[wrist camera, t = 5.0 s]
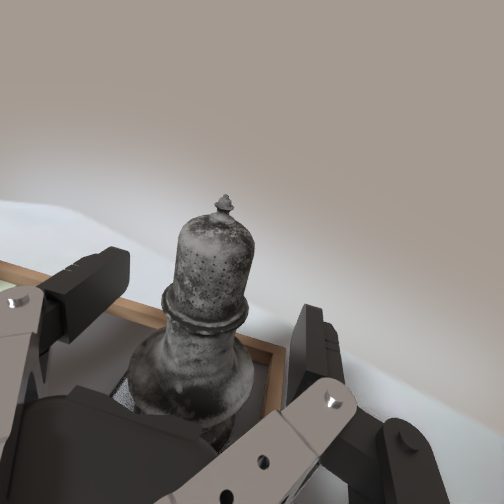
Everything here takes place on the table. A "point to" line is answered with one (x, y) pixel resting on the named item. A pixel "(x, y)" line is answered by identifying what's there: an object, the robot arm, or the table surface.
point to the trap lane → (126, 345)
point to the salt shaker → (200, 331)
